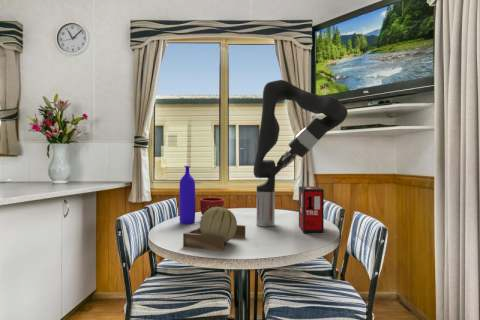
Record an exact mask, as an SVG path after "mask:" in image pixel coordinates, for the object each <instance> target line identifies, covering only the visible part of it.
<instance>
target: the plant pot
mask: <svg viewBox="0 0 480 320" xmlns="http://www.w3.org/2000/svg"><path fill="white" fill-rule="evenodd" d="M199 205H200V207H199V209H200V213H201V216H200V219H201V218H202V216H203V214H204V213H205V212H206V211H207V210H208V209H210V208H212V207H223V205H224V206H225V199H223V198H220V197H201V198H200V199H199Z"/></svg>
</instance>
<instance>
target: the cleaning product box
mask: <svg viewBox="0 0 480 320" xmlns="http://www.w3.org/2000/svg"><path fill="white" fill-rule="evenodd" d="M324 192H325V191H324V189H323V188H320V187H318V186H298V227H299V229H300V230H301V231H302V233H303V234H304V235H305V234H308V233H325V232H324V229H325V228H324V222H325V221H324V217H325V216H324V208H325V207H324V205H325V204H324V203H325V202H324V201H325V200H324V199H325V198H324V196H325V195H324Z"/></svg>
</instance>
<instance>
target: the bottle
mask: <svg viewBox="0 0 480 320" xmlns="http://www.w3.org/2000/svg"><path fill="white" fill-rule="evenodd" d="M190 167H191V165H184V168H185V172H184V175H182V177H181V178H180V180H179V191H178V192H179V197H178V198H179V200H178V203H179V205H178V206H179V209H178V210H179V212H178V213H179V223H180V224H181V223H182V224H181V225H191V224H192V223H193V224H194V223H195V221H196V181H195V179H194V177H193V176H192V175H191V173H190Z"/></svg>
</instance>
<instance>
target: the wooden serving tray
mask: <svg viewBox="0 0 480 320" xmlns="http://www.w3.org/2000/svg"><path fill="white" fill-rule="evenodd" d="M182 236H183V237H182V247H184V248H195V249H202V250H211V251H219V252H220V251H221V252H223V251H225V250H224V247H225V243H224V237H222V236H212V235H202V233H201V231H200V226H198V227H197V228H196V227H195V228H194V229H191V230H188V231H185V232H183V235H182ZM233 237H234V238H241V239H242V238H246V225H243V224H242V225H241V224H237V229H236V232H235V234H234V236H233ZM233 237H232V238H233Z"/></svg>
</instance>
